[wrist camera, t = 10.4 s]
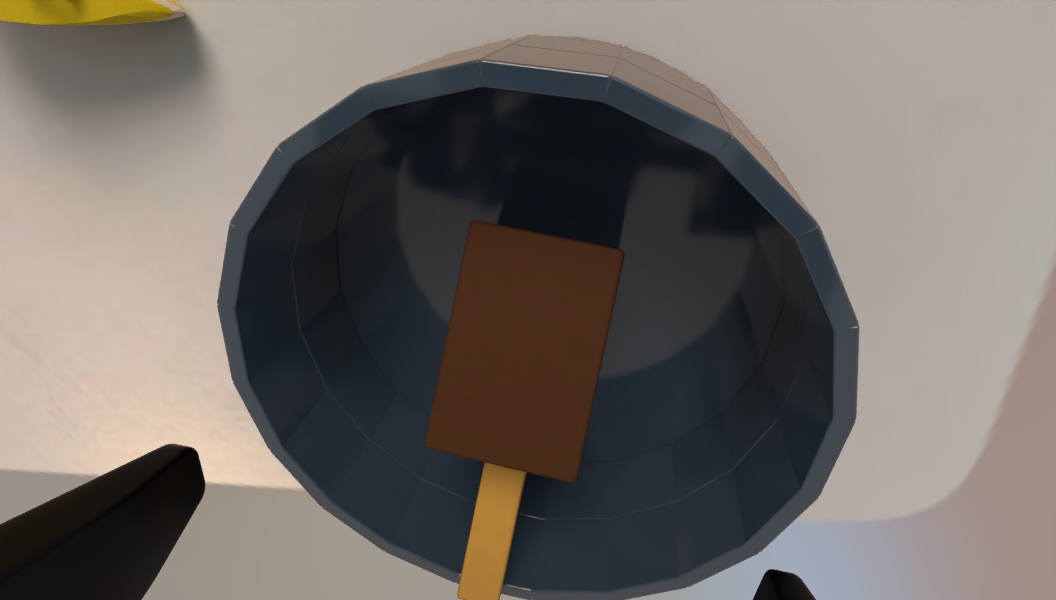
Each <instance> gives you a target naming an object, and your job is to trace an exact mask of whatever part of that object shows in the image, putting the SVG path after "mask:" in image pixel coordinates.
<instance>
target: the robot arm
mask: <svg viewBox="0 0 1056 600" xmlns="http://www.w3.org/2000/svg"><path fill="white" fill-rule="evenodd" d="M204 491H205V479H204V475H203V471H202V467H201V464H200V460H199V456H198V453H197V451H196V450H195V449H194V448H192V447H187V446H183V445H178V444H167V445H165V446H162V447H160V448H158V449H156V450H154V451H152V452H150V453H148V454H145V455H143V456H141V457H139V458H137V459H135V460H133V461H131V462H129V463H127V464H125V465H123V466H120V467H118V468H116V469H114V470H112V471H110V472H108V473H106V474H104V475H102V476H100V477H98V478H96V479H93V480H91V481H89V482H88V483H85V484H83V485H81V486H79V487H77V488H75V489H73V490H71V491H69V492H66V493H64V494H62V495H60V496H58V497H56V498H54V499H52V500H50V501H48V502H46V503H44V504H42V505H39V506H37V507H35V508H33V509H31V510H29V511H27V512H25V513H23V514H21V515H19V516H17V517H14V518H12V519H10V520H8V521H6V522H4V523H2V524H0V600H142V598H143V597H144V595H145V594H146V592H147V591H148V589H149V588H150V586H151V585H152V583H153V581H154V580H155V578H156V577H157V575H158V573H159V572H160V570H161V568H162V566H163V565H164V563H165V561H166V560H167V558H168V556H169V554H170V553H171V551H172V549H173V547H174V546H175V544H176V542H177V541H178V539H179V537H180V535H181V534H182V532H183V530H184V529H185V527H186V525H187V523H188V522H189V520H190V518H191V516H192V515H193V513H194V511H195V510H196V508H197V506H198V504H199V503H200V501H201V499H202V497H203V494H204ZM753 600H816V599H815V598H814V596H813V595H812V594H811V592H810V591H809V589H808V588H807V586H806V585H805V584H804V582H803V581H802V580H801V579H800V578H799V577H798V576H797V575H795V574H793V573H788V572H783V571H778V570H774V569H770V570H768V571H767V572H766V573H765V574H764V576H763V578H762V581H761V583H760V585H759V587H758V589H757V592H756V594H755V596H754V598H753Z"/></svg>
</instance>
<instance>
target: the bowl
mask: <svg viewBox="0 0 1056 600" xmlns="http://www.w3.org/2000/svg"><path fill="white" fill-rule="evenodd" d="M473 220H478V221H483V222H488V223H493V224H498V225H503V226H508V227H513V228H518V229H523V230H528V231H533V232H538V233H543V234H548V235H553V236H558V237H563V238H568V239H573V240H578V241H583V242H588V243H593V244H598V245H603V246H608V247H613V248H618V249H621V250H623V251H624V254H625V256H624V261H623V266H622V270H621V275H620V280H619V284H618V289H617V294H616V299H615V303H614V308H613V313H612V317H611V322H610V327H609V332H608V336H607V341H606V346H605V350H604V355H603V360H602V364H601V369H600V374H599V379H598V383H597V388H596V393H595V397H594V402H593V407H592V411H591V416H590V421H589V426H588V430H587V435H586V440H585V444H584V449H583V454H582V458H581V463H580V468H579V473H578V477H577V480H576V482H575V483H569V482H565V481H561V480H557V479H552V478H548V477H544V476H540V475H536V474H531V473H527V472H526V477H525V482H524V487H523V491H522V496H521V501H520V506H519V510H518V515H517V520H516V525H515V529H514V534H513V539H512V544H511V549H510V553H509V558H508V563H507V568H506V572H505V577H504V582H503V587H502V591H501V594H505V595H509V596H514V597H518V598H523V599H527V600H626V599H631V598H636V597H642V596H646V595H651V594H657V593H661V592H667V591H672V590H677V589H682V588H686V587H687V586H688V587H689V586H692V585H694V584H696V583H698V582H700V581H702V580H704V579H706V578H709V577H711V576H713V575H715V574H717V573H718V572H721V571H723V570H725V569H727V568H729V567H731V566H733V565H736V564H737V563H740V562H742V561H744V560H746V559H748V558H750V557H752V556H754V555H756V554H758V553H759V552H761V551H762V550H763V549H764V548H765V547H767V546H768V544H769V543H771V542H772V541H773V540H774V539H775V538H776V537H777V536H778V535H779V534H780V533H781V532H782V531H783V530H784V529H786V528H787V527H788V526H789V525H790V524H791V523H792V522H793V521H794V520H795V519H796V518H797V517H798V516H799V515H801V514H802V513H803V512H804V511H805V510H806V509H807V508H808V507H809V506H810V505H811V504H812V503H813V502H814V501H815V500H816V499H818V496H820V494H821V492H822V490H823V488H824V486H825V484H826V482H827V480H828V477H829V475H830V473H831V471H832V469H833V467H834V465H835V463H836V461H837V459H838V457H839V455H840V452H841V450H842V448H843V446H844V444H845V442H846V440H847V438H848V436H849V434H850V432H851V430H852V427H853V425H854V423H855V419H856V412H857V382H858V352H859V326H858V320H857V317H856V315H855V312H854V310H853V308H852V305H851V303H850V300H849V298H848V295H847V293H846V290H845V288H844V285H843V283H842V280H841V278H840V275H839V273H838V270H837V268H836V265H835V263H834V260H833V258H832V255H831V253H830V250H829V248H828V245H827V243H826V240H825V238H824V235H823V233H822V230H821V228H820V226H819V225H818V223H817V221H816V220H815V218H814V217H813V216H812V214H811V213H810V211H809V210H808V208H807V207H806V205H805V204H804V202H803V201H802V200H801V198H800V197H799V195H798V194H797V192H796V191H795V189H794V188H793V186H792V185H791V184H790V182H789V181H788V179H787V178H786V176H785V175H784V173H783V172H782V170H781V169H780V168H779V166H778V165H777V163H776V162H775V160H774V159H773V157H772V156H771V154H770V153H769V152H768V150H767V149H766V148H765V147H764V146H763V145H762V144H761V143H760V142H759V141H758V140H757V139H756V138H755V137H754V135H753V134H752V133H751V132H750V131H749V130H748V129H747V128H746V127H745V125H744V124H743V123H742V121H741V120H740V119H739V118H738V117H737V116H736V115H735V114H734V113H733V112H732V111H731V110H730V109H728V108H727V107H726V106H725V105H724V104H723V103H722V102H721V101H720V100H719V99H718V98H717V97H716V95H715V94H714V93H713V92H712V91H711V90H710V89H708V88H707V87H706V86H704V85H702V84H700V83H698V82H696V81H694V80H693V79H691V78H690V77H689V76H687V75H686V74H684V73H682V72H680V71H678V70H677V69H675V68H673V67H671V66H669V65H667V64H665V63H663V62H661V61H659V60H657V59H655V58H653V57H651V56H648V55H645V54H642V53H639V52H637V51H634V50H632V49H630V48H628V47H625V46H624V47H623V46H622V45H616V44H611V43H606V42H600V41H595V40H590V39H584V38H578V37H555V36H538V35H531V36H530V35H527V36H523V37H519V38H515V39H508V40H504V41H500V42H496V43H492V44H488V45H484V46H480V47H476V48H473V49H468V50H464V51H460V52H456V53H452V54H447V55H445V56H442V57H439V58H437V59H434V60H431V61H429V62H426V63H423V64H421V65H418V66H415V67H413V68H410V69H407V70H404V71H402V72H399V73H396V74H394V75H391V76H388V77H386V78H383V79H380V80H378V81H375V82H372V83H370V84H367V85H365V86H362V87H360V88H359V89H357V90H356V91H354V92H353V93H351V94H350V95H349V96H347V97H346V98H344V99H343V100H341V101H340V102H339V103H337V104H336V105H334V106H333V107H331V108H330V109H328V110H327V111H326V112H324V113H323V114H321V115H320V116H318V117H317V118H316V119H314V120H313V121H311V122H310V123H308V124H307V125H306V126H304V127H303V128H301V129H300V130H298V131H297V132H296V133H294V134H293V135H291V136H290V137H288V138H287V139H286V140H284V141H283V142H281V143H280V144H279V145H278V146H277V147H276V148H275V150H274V152H273V153H272V155H271V156H270V158H269V160H268V161H267V163H266V164H265V166H264V168H263V169H262V171H261V173H260V174H259V176H258V177H257V179H256V181H255V182H254V184H253V186H252V187H251V189H250V190H249V192H248V194H247V195H246V197H245V199H244V200H243V202H242V203H241V205H240V207H239V208H238V210H237V211H236V213H235V215H234V216H233V218H232V220H231V222H230V225H229V230H228V236H227V243H226V249H225V256H224V262H223V269H222V275H221V282H220V288H219V295H218V301H217V303H218V306H217V307H218V312H219V317H220V322H221V327H222V332H223V337H224V342H225V347H226V352H227V357H228V362H229V367H230V372H231V377H232V380H233V381H234V382H233V383H234V385H235V387H236V389H237V391H238V393H239V395H240V396H241V398H242V400H243V402H244V404H245V406H246V408H247V409H248V411H249V413H250V415H251V417H252V419H253V421H254V422H255V424H256V426H257V428H258V430H259V432H260V434H261V435H262V437H263V439H264V441H265V443H266V445H267V447H268V448H269V449H270V451H271V452H272V453H273V455H274V456H275V457H276V458H277V459H278V460H279V461H280V462H281V463H282V464H283V466H284V467H285V468H286V469H287V470H288V471H289V472H290V473H291V474H292V475H293V476H294V478H295V479H296V480H297V481H298V482H299V483H300V484H301V485H302V486H303V487H304V488H305V490H306V491H307V492H308V493H309V494H310V495H311V496H312V497H313V498H314V499H315V500H316V501H317V503H318V504H319V505H320V506H323V508H324V509H325V510H326V511H328V512H329V513H331V514H332V515H333V516H335V517H336V518H338V519H339V520H341V521H342V522H344V523H345V524H346V525H348V526H349V527H350V528H352V529H353V530H355V531H356V532H358V533H359V534H360V535H362V536H363V537H365V538H367V539H368V540H369V541H370V542H372V543H373V544H375V545H376V546H377V547H379V548H380V549H382V550H383V551H386V552H387V553H389V554H391V555H393V556H396V557H398V558H400V559H402V560H405V561H407V562H409V563H411V564H414V565H416V566H418V567H421V568H423V569H425V570H427V571H429V572H432V573H434V574H436V575H438V576H441V577H443V578H445V579H447V580H450V581H452V582H456V583H457V584H459V583H460V578H461V573H462V568H463V563H464V559H465V554H466V549H467V544H468V539H469V534H470V530H471V525H472V520H473V515H474V510H475V506H476V501H477V496H478V491H479V486H480V481H481V477H482V472H483V467H484V462H481V461H477V460H473V459H469V458H464V457H460V456H456V455H452V454H448V453H443V452H439V451H435V450H431V449H428V448H426V447H425V439H426V434H427V429H428V424H429V419H430V414H431V409H432V405H433V400H434V395H435V390H436V385H437V380H438V375H439V370H440V365H441V360H442V356H443V351H444V346H445V341H446V336H447V331H448V326H449V321H450V316H451V311H452V307H453V302H454V297H455V292H456V287H457V282H458V277H459V272H460V267H461V262H462V258H463V253H464V248H465V243H466V238H467V233H468V228H469V224H470V222H471V221H473Z"/></svg>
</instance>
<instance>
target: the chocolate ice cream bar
mask: <svg viewBox="0 0 1056 600" xmlns="http://www.w3.org/2000/svg"><path fill="white" fill-rule="evenodd" d="M624 256H625V254H624V251H623V250H621V249H618V248H613V247H608V246H603V245H598V244H593V243H588V242H583V241H578V240H573V239H568V238H563V237H558V236H553V235H548V234H543V233H538V232H533V231H528V230H523V229H518V228H513V227H508V226H503V225H498V224H493V223H488V222H483V221H478V220H473V221H471V222H470V224H469V228H468V233H467V238H466V243H465V248H464V253H463V258H462V262H461V267H460V272H459V277H458V282H457V287H456V292H455V297H454V302H453V307H452V311H451V316H450V321H449V326H448V331H447V336H446V341H445V346H444V351H443V356H442V360H441V365H440V370H439V375H438V380H437V385H436V390H435V395H434V400H433V405H432V409H431V414H430V419H429V424H428V429H427V434H426V439H425V447H426V448H428V449H431V450H435V451H439V452H443V453H448V454H452V455H456V456H460V457H464V458H469V459H473V460H477V461H481V462H484V467H483V472H482V477H481V481H480V486H479V491H478V496H477V501H476V506H475V510H474V515H473V520H472V525H471V530H470V534H469V539H468V544H467V549H466V554H465V559H464V563H463V568H462V573H461V578H460V583H459V587H458V592H457V597H458V598H459V599H463V600H499V599H500V595H501V591H502V587H503V582H504V577H505V572H506V568H507V563H508V558H509V553H510V549H511V544H512V539H513V534H514V529H515V525H516V520H517V515H518V510H519V506H520V501H521V496H522V491H523V487H524V482H525V477H526V472H527V473H531V474H536V475H540V476H544V477H548V478H552V479H557V480H561V481H565V482H569V483H575V482H576V480H577V477H578V473H579V468H580V463H581V458H582V454H583V449H584V444H585V440H586V435H587V430H588V426H589V421H590V416H591V411H592V407H593V402H594V397H595V393H596V388H597V383H598V379H599V374H600V369H601V364H602V360H603V355H604V350H605V346H606V341H607V336H608V332H609V327H610V322H611V317H612V313H613V308H614V303H615V299H616V294H617V289H618V284H619V280H620V275H621V270H622V266H623V261H624Z"/></svg>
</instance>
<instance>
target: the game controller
mask: <svg viewBox="0 0 1056 600" xmlns="http://www.w3.org/2000/svg"><path fill="white" fill-rule="evenodd" d="M185 13H186V11H185V10H184V9H183V8H182V7H181V6H179V5H178V4H176V3H175V2H172V1H169V0H0V21H9V22H19V23H30V24H40V25H69V26H86V25H115V24H133V23H143V22H153V21H164V20H170V19H174V18H178V17H182V16H185Z"/></svg>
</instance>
